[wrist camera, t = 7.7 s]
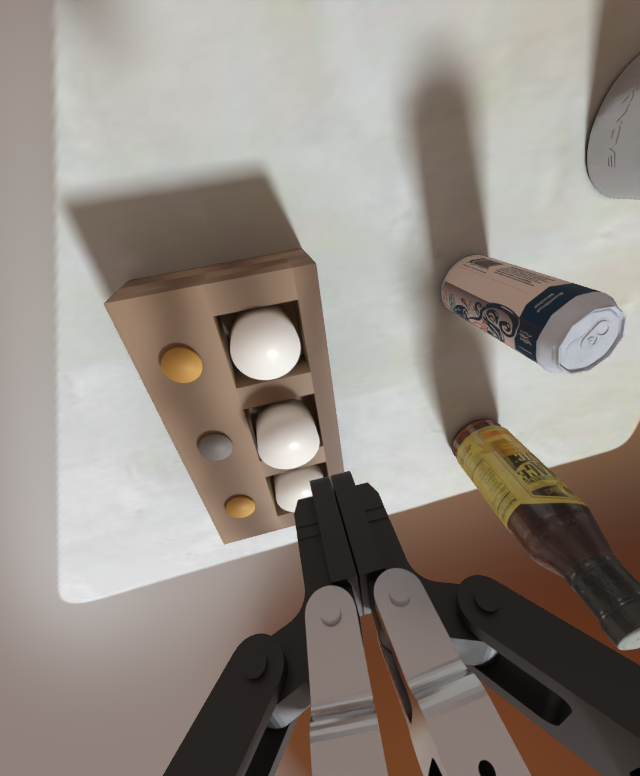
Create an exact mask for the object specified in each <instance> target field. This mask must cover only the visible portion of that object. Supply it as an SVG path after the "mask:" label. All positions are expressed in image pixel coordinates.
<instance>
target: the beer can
mask: <svg viewBox="0 0 640 776" xmlns="http://www.w3.org/2000/svg"><path fill="white" fill-rule="evenodd" d="M441 297H442V302H443V304H444V306H445V307H446V308H447V309H448V310H449V311H451V312H453V313H455V314H457V315H459V316H461V317H462V318H464V319H465V320H467V321H469V322H470V323H472V324H474V325H475V326H477V327H479V328H480V329H482V330H483V331H485V332H487V333H488V334H490V335H492V336H493V337H495V338H497V339H498V340H500V341H501V342H503V343H505V344H506V345H508V346H510V347H511V348H513V349H515V350H516V351H518V352H519V353H521V354H523V355H524V356H526V357H528V358H529V359H531V360H533V361H534V362H536V363H537V364H539V365H540V366H541V367H542V368H543V369H544V370H546V371H548V372H552V373H568V374H570V375H571V374H576V373H581V372H586V371H590V370H591V369H593V368H594V367H595V366H597V365H598V364H600V363H601V362H603V361H604V360H605V359H607V358H608V357H609V356H610V355H611V354H612V352H613V351H614V349H615V348H616V347H617V345H618V344H619V342H620V341H621V339H622V338H623V337H624V331H625V324H626V316H625V315H624V314H623V313H622V311H621V310H620V309H619V308H618V306H617V304H616V302H615V301H614V299H613V298H612V297H610V296H609V295H607V294H606V293H603V292H600V291H597V290H593V289H590V288H587V287H584V286H580V285H577V284H574V283H571V282H567V281H564V280H561V279H558V278H554V277H551V276H548V275H545V274H541V273H538V272H535V271H532V270H528V269H525V268H522V267H519V266H515V265H512V264H509V263H506V262H502V261H499V260H496V259H493V258H489V257H486V256H483V255H471V256H467V257H465V258H463V259H461V260H460V261H458V262H457V263H456V264H454V266H453V267H452V268H451V269H450V270H449V271H448V273H447V275H446V277H445V278H444V281H443V284H442V288H441Z"/></svg>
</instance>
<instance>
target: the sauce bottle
mask: <svg viewBox="0 0 640 776" xmlns="http://www.w3.org/2000/svg"><path fill="white" fill-rule="evenodd" d="M452 451H453V454H454V456H455V457H456V458H457V460H458V463H459V464H460V465H461V467H462V468H463V469H464V471H465V472H466V474H467V475H468V476H469V478H470V479H471V480H472V482H473V483H474V484H475V486H476V487H477V488H478V489H479V491H480V492H481V494H482V495H483V496H484V498H485V499H486V500H487V502H488V503H489V505H490V506H491V507H492V509H493V510H494V511H495V513H496V514H497V515H498V517H499V518H500V519H501V521H502V522H503V523H504V525H505V526H506V528H507V529H508V530H509V531H510V532H511V533H512V534H513V535H514V536H515V537H516V539H517V540H518V541H519V543H520V544H521V546H522V547H523V548H524V550H525V551H526V552H527V554H528V555H529V556H530V557H531V558H532V559H533V560H534V561H535V562H537V563H538V564H540V565H541V566H543V567H544V568H546V569H548V570H550V571H552V572H553V573H556V574H558V575H560V576H561V577H564V578H565V579H566V580H567V582H568V583H569V585H570V587H571V588H572V590H573V591H576V593H577V594H578V595H579V596H580V597H581V599H582V600H583V601H584V602H585V604H586V605H587V606H588V607H589V609H590V610H591V611H592V612H593V614H594V615H595V616H596V617H597V619H598V620H599V623H600V626H601V628H602V630H603V631H604V632H605V634H606V635H607V636H608V637H609V639H610V640H611V641H612V642H613V643H614V645H615V646H616V647H617V648H619V649H620V650H631V649H637V648H640V583H639V582H638V581H637V580H636V579H635V578H634V577H633V576H632V575H631V574H630V573H629V572H628V571H627V570H626V569H625V568H624V566H623V565H622V563H621V562H620V561H619V560H618V559H617V558H616V556H615V554H614V552H613V551H612V549H611V547H610V545H609V543H608V541H607V540H606V538H605V536H604V534H603V533H602V531H601V529H600V527H599V525H598V524H597V522H596V520H595V518H594V516H593V515H592V513H591V511H590V509H589V508H588V507H587V506H586V505H585V504H584V503H583V502H582V501H581V500H580V499H579V498H578V497H577V496H576V495H575V494H574V493H573V492H572V491H571V490H570V489H569V488H568V487H567V486H566V485H565V484H563V482H562V481H561V480H559V479H558V478H557V477H556V476H555V475H554V474H553V472H551V471H550V470H549V469H548V468H547V467H546V466H545V465H544V464H543V463H542V462H541V461H540V460H539V459H538V458H537V457H535V456H534V455H533V454H532V453H531V452H530V451H529V450H528V449H527V448H526V447H525V446H524V445H523V444H522V443H521V442H520V441H519V440H518V439H516V438H515V437H514V436H513V435H512V434H511V433H510V432H509V431H508V430H507V429H505V428H503V427H501V425H500V424H498V423H497V422H495V421H493V420H481V421H474V422H472V423H470V424H469V425H468V426H467V427H465V428H464V429H462V430H461V431H460V432H459V434H458V435H457V436H456V438H455V439H454V443H453V447H452Z"/></svg>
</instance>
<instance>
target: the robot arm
mask: <svg viewBox="0 0 640 776" xmlns="http://www.w3.org/2000/svg"><path fill="white" fill-rule="evenodd" d="M587 167H588V172H589V177H590V179H591V181H592V183H593V185H594V187H595V188H596V189H597V190H598V191H599V192H600V193H601V194H602V195H604V196H606V197H609V198H617V199H634V200H640V54H639V55H638V56H637V57H636V58H635V59H634V60H633V61H632V62H631V63H630V64H629V65H628V66H627V67H626V68H625V70H624V71H623V72H622V73H621V75H620V76H619V77H618V78H617V80H616V81H615V82H614V84H613V85H612V87H611V89H610V90H609V92H608V94H607V95H606V97H605V99H604V100H603V103H602V105H601V107H600V109H599V111H598V113H597V116H596V118H595V121H594V124H593V128H592V131H591V134H590V139H589V145H588V151H587ZM330 479H331V482H330ZM309 482H310V486H311V491H312V496H311V497H307V498H303V499H299V500H298V501H297V505H296V508H295V512H294V517H295V524H296V530H297V538H298V544H299V551H300V558H301V564H302V571H303V578H304V585H305V598H304V602H303V605H302V608H301V610H300V612H299V613H298V614H297V616H296V617H295V618H294V619H293V620H292V621H291V622H290V623H289V624H287V625H286V626H284V627H283V628H282V629H280V630H279V631H277V632H276V633H275V634H273V635H272V636H270V635H267V634H255V635H253V636H250V637H248V638H247V639H245V640H244V641H243V642H242V643H241V644H240V645H239V646H238V647H237V649H236V651H235V652H234V653H233V655H232V657H231V659H230V661H229V662H228V664H227V665H226V667H225V669H224V671H223V672H222V674H221V676H220V678H219V679H218V681H217V683H216V684H215V686H214V688H213V690H212V691H211V693H210V695H209V697H208V698H207V700H206V702H205V703H204V705H203V707H202V709H201V711H200V712H199V714H198V716H197V718H196V719H195V721H194V723H193V724H192V726H191V728H190V730H189V731H188V733H187V735H186V736H185V738H184V740H183V742H182V743H181V745H180V747H179V748H178V750H177V752H176V754H175V756H174V757H173V759H172V761H171V762H170V764H169V766H168V768H167V769H166V771H165V773H164V774H163V776H274V775H275V773H276V770H277V768H278V765H279V763H280V760H281V758H282V756H283V753H284V750H285V748H286V746H287V743H288V741H289V738H290V736H291V733H292V730H293V728H294V726H295V723H296V721H297V718H298V716H299V715H300V714H301V713H302V712H303V711H305V710H306V709H307V708H308V707H309V706H311V720H310V746H311V762H312V776H388V774H387V768H386V763H385V758H384V752H383V747H382V742H381V736H380V731H379V726H378V721H377V715H376V711H375V706H374V701H373V696H372V691H371V686H370V680H369V676H368V670H367V665H366V659H365V654H364V647H363V646H364V645H363V637H362V630H361V622H360V616H362V609H361V604H362V608H363V611H364V615H365V614H369V613H372V616H373V619H374V623H375V626H376V630H377V637H378V642H379V645H380V648H381V651H382V653H383V656H384V659H385V662H386V665H387V668H388V670H389V673H390V676H391V679H392V681H393V684H394V687H395V690H396V693H397V695H398V698H399V701H400V704H401V707H402V709H403V712H404V715H405V718H406V721H407V724H408V727H409V731H410V735H411V739H412V742H413V746H414V749H415V752H416V755H417V758H418V761H419V764H420V767H421V770H422V772H423V775H424V776H532V775H531V774H530V773H529V771H528V769H527V767H526V765H525V763H524V761H523V759H522V758H521V756H520V754H519V752H518V750H517V748H516V746H515V745H514V743H513V741H512V739H511V737H510V735H509V733H508V732H507V729H506V728H505V726H504V724H503V722H502V720H501V718H500V716H499V715H498V713H497V711H496V709H495V707H494V705H493V703H492V701H491V700H490V698H489V696H488V694H487V692H486V690H485V689H484V687H483V685H482V684H481V683H480V681H479V680H481V681H482V682H483V683H485V684H486V685H487V686H488V687H490V688H491V689H492V690H494V691H495V692H496V693H497V694H499V695H500V696H501V697H503V698H504V699H505V700H506V701H508V702H509V703H510V704H512V705H513V706H514V707H515V708H517V709H518V710H519V711H521V712H522V713H523V714H524V715H526V716H527V717H528V718H530V719H531V720H532V721H533V722H535V723H536V724H537V725H539V726H540V727H542V728H543V729H544V730H545V731H546V732H548V733H549V734H550V735H551V736H553V737H554V738H555V739H557V740H558V741H559V742H561V743H562V744H563V745H564V746H566V747H567V748H568V749H569V750H571V751H572V752H573V753H575V754H576V755H577V756H578V757H580V758H581V759H582V760H584V761H585V762H586V763H587V764H589V765H590V766H591V767H593V768H594V769H595V770H597V771H598V772H599V773H600V774H602V775H603V776H640V666H639V665H638V664H636V663H635V662H633V661H631V660H630V659H628V658H626V657H624V656H623V655H621V654H619V653H618V652H616V651H614V650H613V649H611V648H609V647H607V646H605V645H604V644H602V643H601V642H599V641H597V640H596V639H594V638H592V637H590V636H589V635H587V634H585V633H584V632H582V631H580V630H579V629H577V628H575V627H574V626H572V625H570V624H568V623H567V622H565V621H563V620H562V619H560V618H558V617H557V616H555V615H553V614H551V613H550V612H548V611H546V610H545V609H543V608H541V607H540V606H538V605H536V604H535V603H533V602H531V601H529V600H527V599H526V598H524V597H523V596H521V595H519V594H517V593H516V592H514V591H512V590H510V589H509V588H507V587H506V586H504V585H502V584H500V583H499V582H497V581H495V580H493V579H492V578H489V577H486V576H482V575H474V576H470V577H467V578H466V579H464V581H462V583H461V584H453V583H442V582H435V581H431V580H428V579H426V578H423V577H422V576H420V575H419V574H418V573H416V572H415V571H414V570H413V569H412V568H411V566H410V565H409V563H408V561H407V559H406V557H405V554H404V552H403V550H402V547H401V545H400V543H399V540H398V538H397V536H396V534H395V531H394V529H393V527H392V524H391V522H390V520H389V518H388V514H387V512H386V510H385V508H384V505H383V503H382V500H381V498H380V496H379V493H378V492H377V491H376V490H375V489H374V488H373V487H372V486H371V485H370V484H369V483H364V484H360V485H356V486H355V483H354V480H353V478H352V475H351V472H350V471H348V472H344V473H339V474H335V475H331V476H330V478H329V476H327V477H323V478H319V479H315V480H311V481H309Z"/></svg>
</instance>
